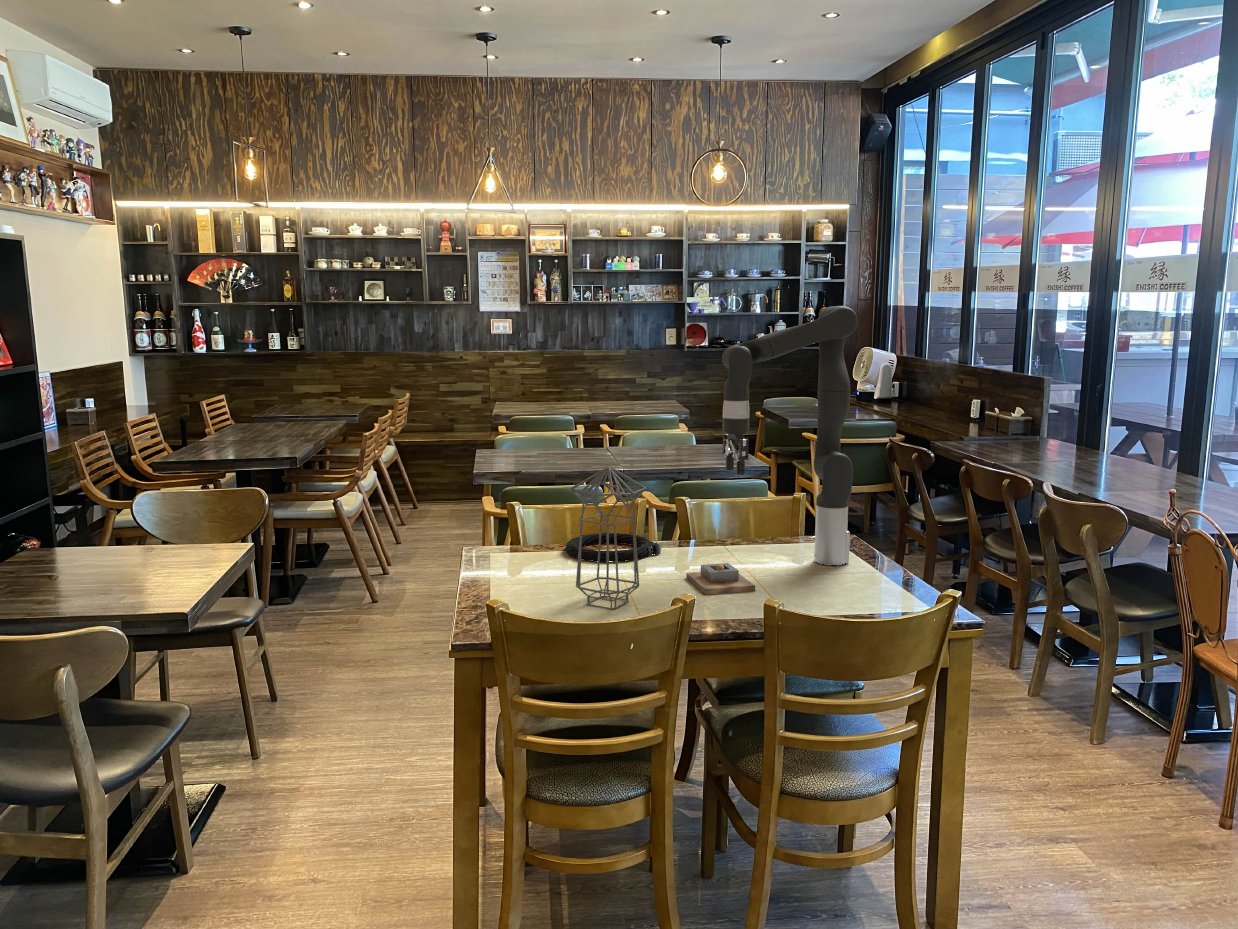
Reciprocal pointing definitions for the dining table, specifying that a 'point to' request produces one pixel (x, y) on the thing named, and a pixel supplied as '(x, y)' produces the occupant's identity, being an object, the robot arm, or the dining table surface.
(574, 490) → the geometric lantern
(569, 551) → the black studded ring
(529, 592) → the dining table surface
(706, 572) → the grey square frame
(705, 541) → the dining table surface
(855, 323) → the robot arm
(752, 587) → the keeper block
